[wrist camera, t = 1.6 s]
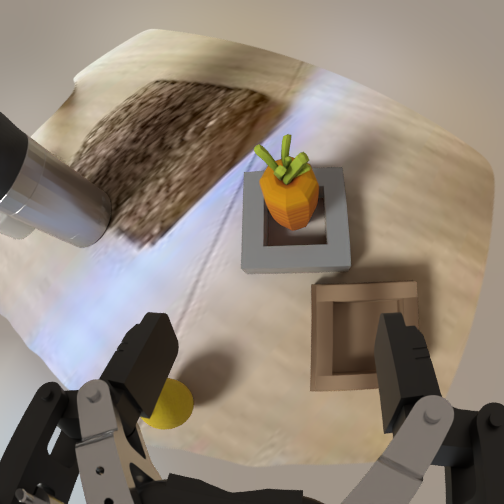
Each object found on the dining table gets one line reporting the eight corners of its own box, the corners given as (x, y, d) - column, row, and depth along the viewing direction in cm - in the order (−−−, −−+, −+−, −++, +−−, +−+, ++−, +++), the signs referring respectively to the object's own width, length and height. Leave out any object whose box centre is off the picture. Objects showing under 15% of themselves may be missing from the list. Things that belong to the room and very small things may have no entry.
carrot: (265, 222, 35) (232, 151, 21) (298, 196, 35) (285, 113, 21) (293, 255, 33) (277, 197, 19) (327, 226, 33) (334, 153, 19)
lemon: (152, 395, 32) (114, 408, 25) (177, 364, 33) (141, 371, 25) (185, 427, 30) (153, 448, 23) (213, 396, 31) (184, 413, 23)
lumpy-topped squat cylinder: (18, 189, 48) (-10, 172, 39) (52, 187, 45) (19, 166, 36) (3, 236, 45) (-28, 224, 37) (35, 242, 42) (-1, 227, 34)
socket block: (247, 274, 34) (241, 268, 31) (249, 184, 36) (244, 172, 34) (347, 271, 32) (351, 265, 29) (340, 179, 34) (342, 167, 31)
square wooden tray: (310, 388, 29) (309, 396, 25) (311, 286, 32) (311, 280, 28) (409, 382, 27) (421, 388, 23) (408, 282, 30) (420, 276, 26)
